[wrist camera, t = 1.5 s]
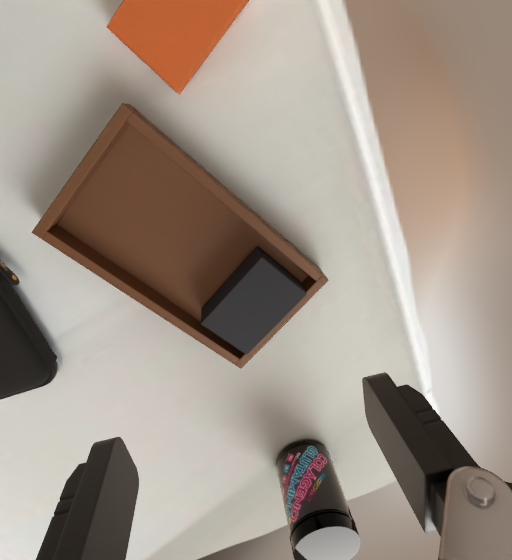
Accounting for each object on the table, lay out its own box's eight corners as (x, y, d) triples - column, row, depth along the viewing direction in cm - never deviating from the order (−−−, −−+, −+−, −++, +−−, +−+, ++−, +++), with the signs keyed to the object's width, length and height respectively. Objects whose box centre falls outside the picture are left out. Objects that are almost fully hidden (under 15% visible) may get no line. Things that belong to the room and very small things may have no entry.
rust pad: (117, 36, 26) (106, 26, 23) (187, -70, 24) (184, -94, 21) (179, 94, 27) (176, 91, 25) (248, 0, 26) (253, -14, 23)
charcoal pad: (200, 307, 34) (200, 324, 31) (257, 245, 32) (261, 256, 30) (244, 337, 36) (247, 355, 33) (299, 280, 34) (307, 294, 32)
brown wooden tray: (45, 223, 30) (31, 232, 28) (129, 104, 27) (122, 102, 25) (238, 353, 37) (240, 368, 35) (320, 269, 35) (328, 280, 32)
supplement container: (333, 437, 44) (367, 524, 34) (324, 476, 47) (353, 567, 37) (278, 438, 43) (298, 528, 33) (272, 478, 46) (289, 572, 36)
